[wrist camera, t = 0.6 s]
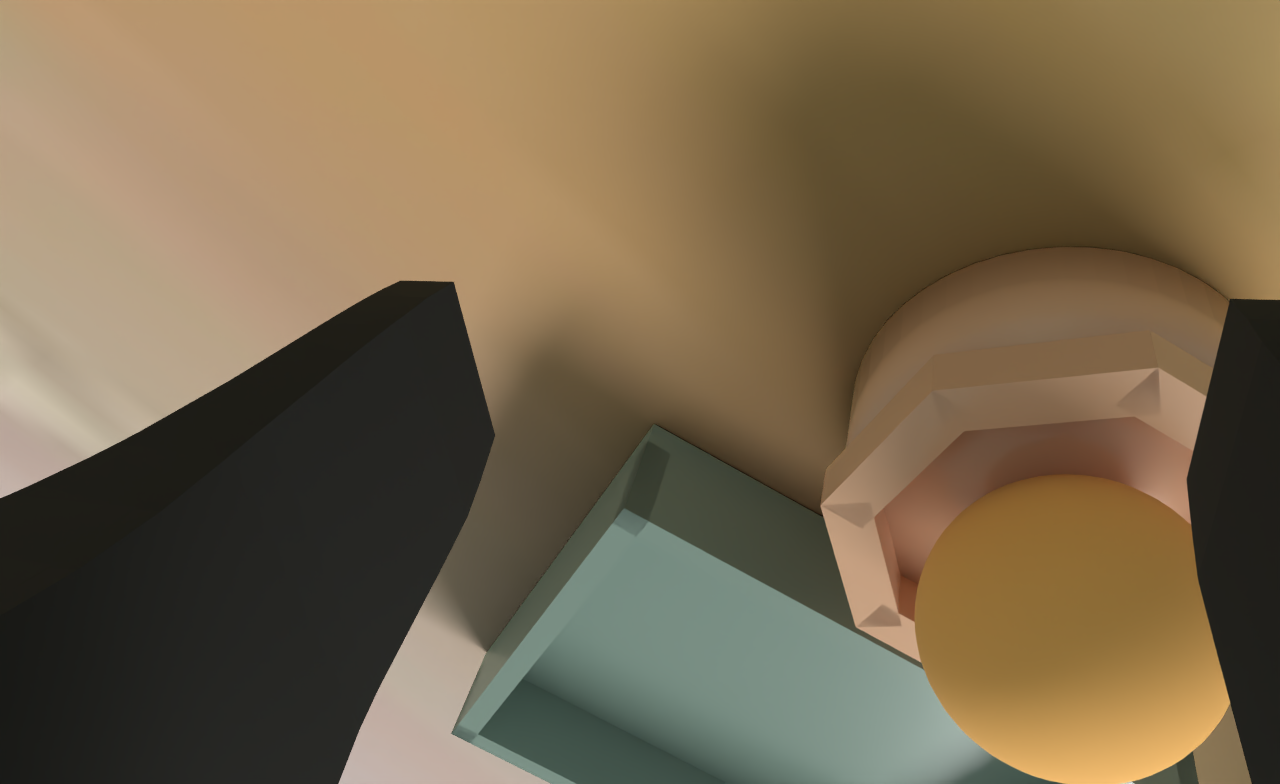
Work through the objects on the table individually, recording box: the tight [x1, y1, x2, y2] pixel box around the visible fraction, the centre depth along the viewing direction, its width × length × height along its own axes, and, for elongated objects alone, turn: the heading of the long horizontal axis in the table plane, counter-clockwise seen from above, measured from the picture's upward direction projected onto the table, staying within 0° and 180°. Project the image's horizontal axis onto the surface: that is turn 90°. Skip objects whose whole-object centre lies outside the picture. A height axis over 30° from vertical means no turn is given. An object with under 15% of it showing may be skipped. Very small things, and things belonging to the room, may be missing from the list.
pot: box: [820, 247, 1229, 663], centre depth 20 cm, size 8×8×4 cm
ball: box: [915, 474, 1230, 784], centre depth 18 cm, size 5×5×5 cm
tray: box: [451, 424, 1199, 784], centre depth 28 cm, size 15×11×3 cm
